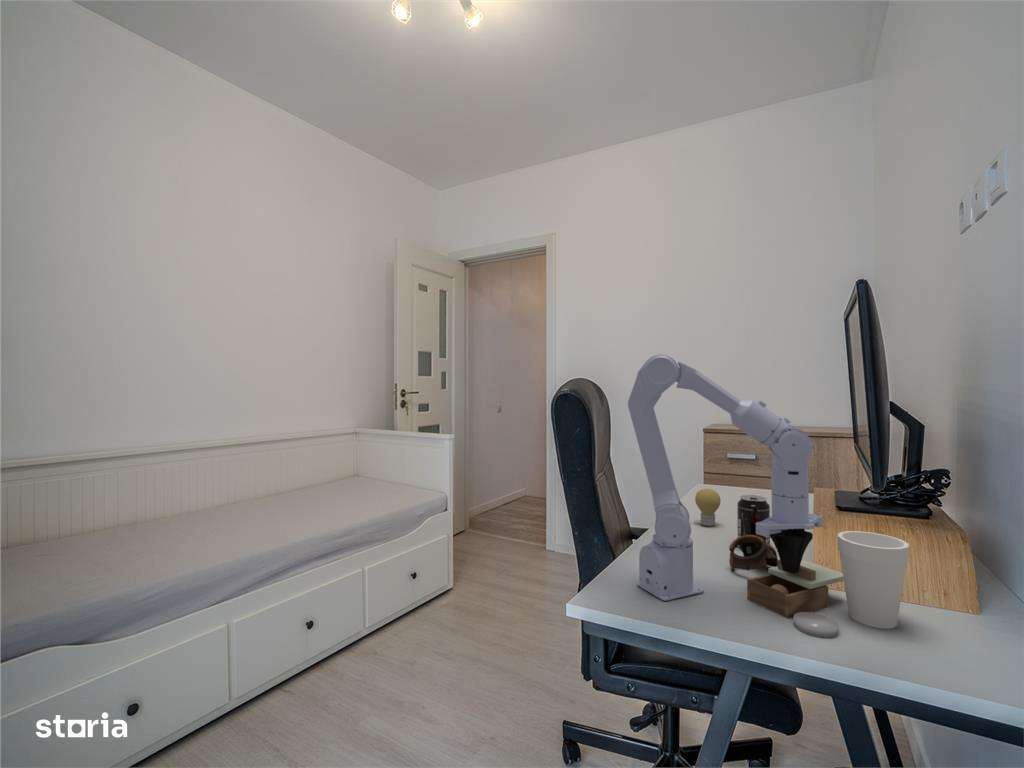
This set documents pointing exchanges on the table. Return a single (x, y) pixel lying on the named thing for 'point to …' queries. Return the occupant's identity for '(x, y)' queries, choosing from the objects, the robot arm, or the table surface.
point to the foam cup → (873, 576)
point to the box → (786, 596)
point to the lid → (808, 575)
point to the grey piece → (816, 624)
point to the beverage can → (752, 515)
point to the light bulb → (707, 505)
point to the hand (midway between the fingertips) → (790, 571)
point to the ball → (780, 588)
